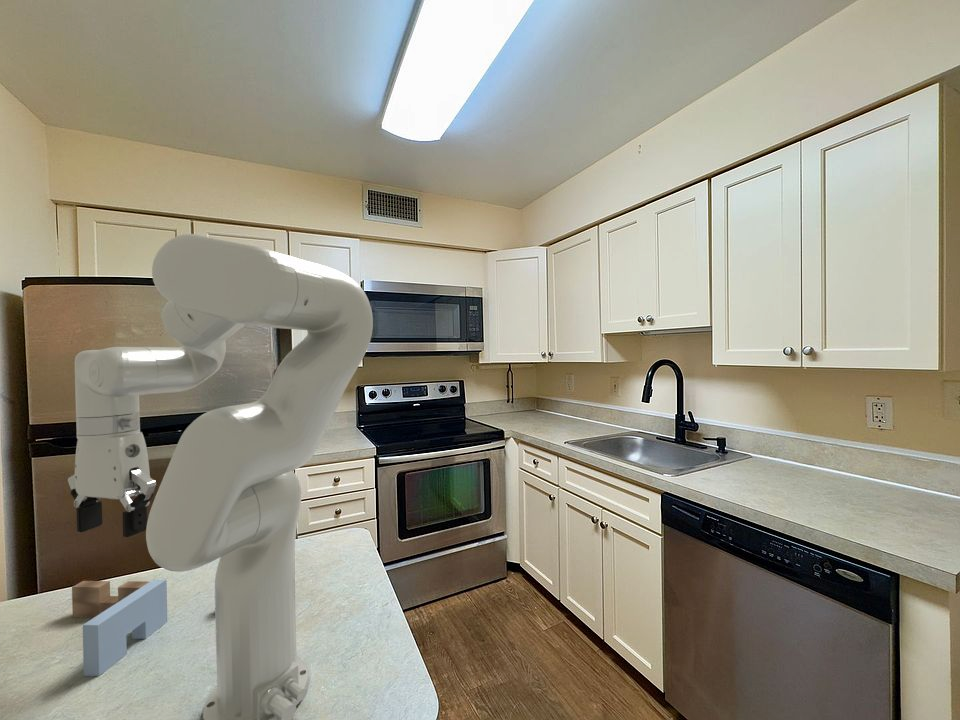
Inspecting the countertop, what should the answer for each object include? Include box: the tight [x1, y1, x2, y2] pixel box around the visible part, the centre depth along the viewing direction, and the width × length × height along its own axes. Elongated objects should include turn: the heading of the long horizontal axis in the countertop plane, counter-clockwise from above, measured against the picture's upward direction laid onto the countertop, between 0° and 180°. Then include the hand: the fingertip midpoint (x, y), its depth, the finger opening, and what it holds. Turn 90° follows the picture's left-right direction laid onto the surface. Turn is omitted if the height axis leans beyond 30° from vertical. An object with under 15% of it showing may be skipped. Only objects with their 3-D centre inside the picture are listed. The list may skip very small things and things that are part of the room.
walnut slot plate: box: [71, 580, 150, 618], centre depth 73 cm, size 14×2×6 cm, turn 87°
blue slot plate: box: [82, 579, 168, 677], centre depth 65 cm, size 12×2×8 cm, turn 177°
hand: (112, 531), depth 64 cm, fingers open, 9 cm apart
